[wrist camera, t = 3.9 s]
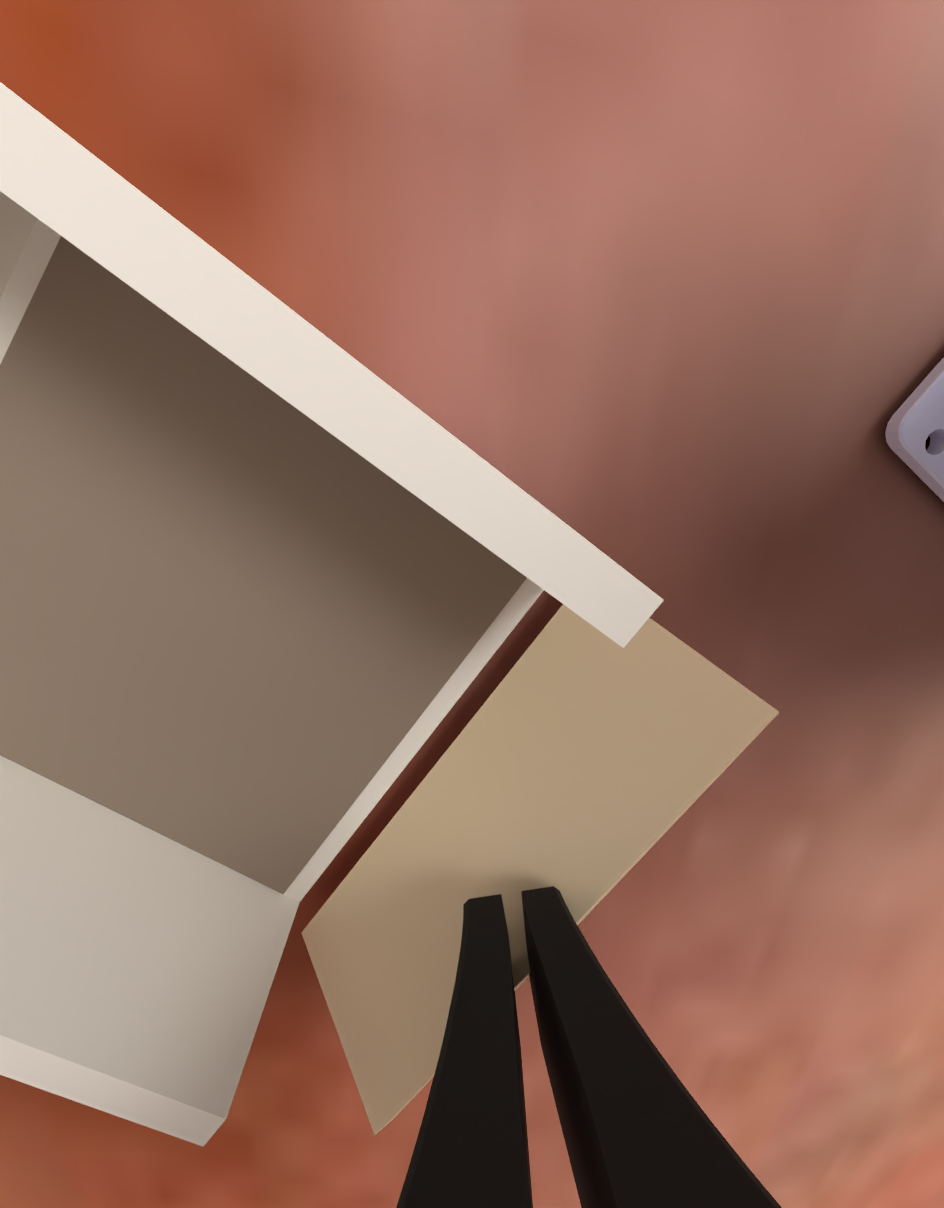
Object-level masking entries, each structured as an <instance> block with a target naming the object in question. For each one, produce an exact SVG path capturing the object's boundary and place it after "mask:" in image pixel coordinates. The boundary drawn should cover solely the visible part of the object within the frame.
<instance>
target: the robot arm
mask: <svg viewBox="0 0 944 1208" xmlns="http://www.w3.org/2000/svg"><path fill="white" fill-rule="evenodd" d="M885 434H886V442H887V444H888V445H889V447H890V448H891V449H892V450H893V451H894V452H895V453H896V454H897V455H898V456H899V457H900V459H901V460H902V461H903V462H904V463H905V464H906V465H907V466H908V467H909V468H910V469H911V470H912V471H913V472H914V473H915V474H916V475H917V476H918V477H919V478H920V479H921V480H922V481H923V482H924V483H925V484H926V485H927V486H928V487H929V488H930V489H931V490H932V491H933V492H934V493H935V494H936V495H937V496H938V497H939V498H940V499H941V500H942V501H943V502H944V357H943V358H942V359H941V361H940V362H939V363H938V364H937V365H936V366H935V367H934V369H933V370H932V371H931V372H930V373H929V374H928V375H927V377H926V378H925V379H924V380H923V381H922V382H921V383H920V385H919V386H918V387H917V388H916V389H915V390H914V391H913V393H912V394H911V395H910V396H909V397H908V398H907V399H906V401H905V402H904V403H903V404H902V405H901V406H900V407H899V409H898V410H897V411H896V412H895V413H894V414H893V416H892V417H891V419H890V420H889V422H888V424H887V428H886V432H885ZM928 436H929V437H930V445H929V447H928V449H927V450H926V448H925V443H926V439H927V438H928ZM521 895H522V905H523V916H524V926H525V937H526V947H527V954H528V960H529V967H530V974H529V977H530V983H531V989H532V994H533V1000H534V1006H535V1012H536V1018H537V1023H538V1029H539V1035H540V1041H541V1046H542V1050H543V1054H544V1058H545V1062H546V1066H547V1071H548V1075H549V1079H550V1083H551V1087H552V1091H553V1095H554V1099H555V1103H556V1107H557V1111H558V1115H559V1119H560V1123H561V1127H562V1131H563V1135H564V1139H565V1143H566V1147H567V1151H568V1155H569V1159H570V1163H571V1167H572V1171H573V1175H574V1179H575V1183H576V1187H577V1191H578V1195H579V1199H580V1203H581V1207H582V1208H781V1206H780V1205H779V1204H778V1203H777V1202H776V1200H775V1199H774V1198H773V1197H772V1196H771V1194H770V1193H769V1192H768V1191H767V1190H766V1188H765V1187H764V1186H763V1185H762V1184H761V1183H760V1181H759V1180H758V1179H757V1178H756V1177H755V1175H754V1174H753V1173H752V1172H751V1171H750V1169H749V1168H748V1167H747V1166H746V1164H745V1163H744V1162H743V1161H742V1159H741V1158H740V1157H739V1156H738V1154H737V1153H736V1152H735V1151H734V1149H733V1148H732V1147H731V1146H730V1144H729V1143H728V1142H727V1141H726V1139H725V1138H724V1137H723V1136H722V1134H721V1133H720V1132H719V1131H718V1129H717V1128H716V1127H715V1126H714V1124H713V1123H712V1122H711V1121H710V1119H709V1118H708V1117H707V1115H706V1114H705V1113H704V1111H703V1110H702V1109H701V1108H700V1106H699V1105H698V1104H697V1102H696V1101H695V1100H694V1098H693V1097H692V1096H691V1094H690V1093H689V1092H688V1090H687V1089H686V1088H685V1086H684V1085H683V1084H682V1083H681V1081H680V1080H679V1078H678V1077H677V1076H676V1074H675V1073H674V1072H673V1070H672V1069H671V1067H670V1066H669V1065H668V1063H667V1062H666V1061H665V1059H664V1058H663V1056H662V1055H661V1054H660V1052H659V1051H658V1050H657V1048H656V1047H655V1045H654V1044H653V1043H652V1041H651V1040H650V1038H649V1037H648V1036H647V1034H646V1033H645V1031H644V1030H643V1028H642V1027H641V1025H640V1024H639V1023H638V1021H637V1020H636V1018H635V1017H634V1015H633V1014H632V1012H631V1011H630V1009H629V1008H628V1006H627V1005H626V1003H625V1002H624V1000H623V999H622V997H621V996H620V994H619V993H618V991H617V990H616V988H615V987H614V985H613V984H612V982H611V981H610V979H609V977H608V976H607V974H606V973H605V971H604V970H603V968H602V966H601V965H600V963H599V962H598V960H597V958H596V957H595V955H594V953H593V952H592V950H591V948H590V947H589V945H588V943H587V942H586V940H585V938H584V936H583V935H582V933H581V931H580V929H579V928H578V926H577V924H576V922H575V920H574V919H573V917H572V915H571V913H570V911H569V909H568V907H567V905H566V903H565V901H564V899H563V897H562V895H561V892H560V890H558V889H557V888H555V887H554V886H552V887H545V888H538V889H531V890H525V891H521ZM397 1208H533V1204H532V1191H531V1177H530V1164H529V1151H528V1138H527V1125H526V1112H525V1098H524V1085H523V1072H522V1059H521V1047H520V1038H519V1028H518V1019H517V1010H516V1000H515V991H514V982H513V972H512V963H511V954H510V944H509V935H508V929H507V923H506V917H505V911H504V906H503V900H502V895H501V894H498V895H491V896H484V897H477V898H471V899H468V900H467V901H466V902H465V904H464V905H463V928H462V939H461V947H460V954H459V961H458V967H457V973H456V979H455V985H454V990H453V995H452V999H451V1004H450V1009H449V1014H448V1019H447V1024H446V1029H445V1033H444V1038H443V1042H442V1046H441V1051H440V1055H439V1059H438V1062H437V1066H436V1070H435V1074H434V1078H433V1082H432V1086H431V1090H430V1094H429V1097H428V1101H427V1105H426V1109H425V1113H424V1117H423V1120H422V1124H421V1128H420V1131H419V1135H418V1138H417V1142H416V1145H415V1149H414V1152H413V1155H412V1159H411V1162H410V1165H409V1169H408V1172H407V1176H406V1179H405V1182H404V1185H403V1188H402V1192H401V1195H400V1198H399V1201H398V1204H397Z"/></svg>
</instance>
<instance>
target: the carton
mask: <svg viewBox="0 0 944 1208" xmlns="http://www.w3.org/2000/svg"><path fill="white" fill-rule="evenodd" d="M544 590H545V591H546V592H547V593H549V594H550V595H552V596H553V597H554V598H556V599H557V600H558V601H560V602H561V603H562V604H564V605H565V606H567V607H568V608H569V609H571V610H572V611H573V612H575V613H576V614H577V615H579V616H580V617H582V618H583V619H584V620H586V621H587V622H588V623H590V624H591V625H592V626H594V627H595V628H596V629H598V630H599V631H601V632H602V633H603V634H605V635H606V636H607V637H609V638H610V639H611V640H613V641H614V642H616V643H617V644H618V645H620V646H621V647H622V648H624V647H625V646H626V645H627V643H628V642H629V641H630V640H631V639H632V637H633V636H634V635H635V634H636V633H637V632H638V630H639V629H640V628H641V627H642V626H643V624H644V623H645V622H646V621H647V620H648V618H649V617H650V616H651V615H652V614H653V613H654V611H655V610H656V609H657V608H658V607H659V605H660V604H661V603H662V602H663V601H664V600H663V599H662V598H661V597H659V596H658V595H657V594H656V593H654V592H653V591H652V590H650V589H649V588H648V587H647V586H645V585H644V584H643V583H641V582H640V581H639V580H638V579H636V578H635V577H634V576H633V575H631V574H630V573H629V572H627V571H626V570H625V569H624V568H622V567H621V566H620V565H618V564H617V563H616V562H615V561H613V560H612V559H611V558H609V557H608V556H607V555H606V554H604V553H603V552H602V551H600V550H599V549H598V548H597V547H595V546H594V545H593V544H592V543H590V542H589V541H588V540H586V539H585V538H584V537H583V536H581V535H580V534H579V533H577V532H576V531H575V530H574V529H572V528H571V527H570V526H568V525H567V524H566V523H565V522H563V521H562V520H561V519H559V518H558V517H557V516H556V515H554V514H553V513H552V512H551V511H549V510H548V509H547V508H545V507H544V506H543V505H542V504H540V503H539V502H538V501H536V500H535V499H534V498H533V497H531V496H530V495H529V494H527V493H526V492H525V491H524V490H522V489H521V488H520V487H518V486H517V485H516V484H515V483H513V482H512V481H511V480H510V479H508V478H507V477H506V476H504V475H503V474H502V473H501V472H499V471H498V470H497V469H495V468H494V467H493V466H492V465H490V464H489V463H488V462H486V461H485V460H484V459H483V458H481V457H480V456H479V455H477V454H476V453H475V452H474V451H472V450H471V449H470V448H468V447H467V446H466V445H465V444H463V443H462V442H461V441H460V440H458V439H457V438H456V437H454V436H453V435H452V434H451V433H449V432H448V431H447V430H445V429H444V428H443V427H442V426H440V425H439V424H438V423H436V422H435V421H434V420H433V419H431V418H430V417H429V416H427V415H426V414H425V413H424V412H422V411H421V410H420V409H419V408H417V407H416V406H415V405H413V404H412V403H411V402H410V401H408V400H407V399H406V398H404V397H403V396H402V395H401V394H399V393H398V392H397V391H395V390H394V389H393V388H392V387H390V386H389V385H388V384H386V383H385V382H384V381H383V380H381V379H380V378H379V377H378V376H376V375H375V374H374V373H372V372H371V371H370V370H369V369H367V368H366V367H365V366H363V365H362V364H361V363H360V362H358V361H357V360H356V359H354V358H353V357H352V356H351V355H349V354H348V353H347V352H345V351H344V350H343V349H342V348H340V347H339V346H338V345H337V344H335V343H334V342H333V341H331V340H330V339H329V338H328V337H326V336H325V335H324V334H322V333H321V332H320V331H319V330H317V329H316V328H315V327H313V326H312V325H311V324H310V323H308V322H307V321H306V320H304V319H303V318H302V317H301V316H299V315H298V314H297V313H296V312H294V311H293V310H292V309H290V308H289V307H288V306H287V305H285V304H284V303H283V302H281V301H280V300H279V299H278V298H276V297H275V296H274V295H272V294H271V293H270V292H269V291H267V290H266V289H265V288H263V287H262V286H261V285H260V284H258V283H257V282H256V281H254V280H253V279H252V278H251V277H249V276H248V275H247V274H246V273H244V272H243V271H242V270H240V269H239V268H238V267H237V266H235V265H234V264H233V263H231V262H230V261H229V260H228V259H226V258H225V257H224V256H222V255H221V254H220V253H219V252H217V251H216V250H215V249H213V248H212V247H211V246H210V245H208V244H207V243H206V242H205V241H203V240H202V239H201V238H199V237H198V236H197V235H196V234H194V233H193V232H192V231H190V230H189V229H188V228H187V227H185V226H184V225H183V224H181V223H180V222H179V221H178V220H176V219H175V218H174V217H172V216H171V215H170V214H169V213H167V212H166V211H165V210H164V209H162V208H161V207H160V206H158V205H157V204H156V203H155V202H153V201H152V200H151V199H149V198H148V197H147V196H146V195H144V194H143V193H142V192H140V191H139V190H138V189H137V188H135V187H134V186H133V185H131V184H130V183H129V182H128V181H126V180H125V179H124V178H123V177H121V176H120V175H119V174H117V173H116V172H115V171H114V170H112V169H111V168H110V167H108V166H107V165H106V164H105V163H103V162H102V161H101V160H99V159H98V158H97V157H96V156H94V155H93V154H92V153H90V152H89V151H88V150H87V149H85V148H84V147H83V146H81V145H80V144H79V143H78V142H76V141H75V140H74V139H73V138H71V137H70V136H69V135H67V134H66V133H65V132H64V131H62V130H61V129H60V128H58V127H57V126H56V125H55V124H53V123H52V122H51V121H49V120H48V119H47V118H46V117H44V116H43V115H42V114H40V113H39V112H38V111H37V110H35V109H34V108H33V107H32V106H30V105H29V104H28V103H26V102H25V101H24V100H23V99H21V98H20V97H19V96H17V95H16V94H15V93H14V92H12V91H11V90H10V89H8V88H7V87H6V86H5V85H3V84H2V83H1V82H0V1075H2V1076H5V1077H8V1078H11V1079H14V1080H17V1081H19V1082H22V1083H25V1084H28V1085H31V1086H34V1087H36V1088H39V1089H42V1090H45V1091H48V1092H50V1093H53V1094H56V1095H59V1096H62V1097H65V1098H67V1099H70V1100H73V1101H76V1102H79V1103H81V1104H84V1105H87V1106H90V1107H93V1108H96V1109H98V1110H101V1111H104V1112H107V1113H110V1114H112V1115H115V1116H118V1117H121V1118H124V1119H127V1120H129V1121H132V1122H135V1123H138V1124H141V1125H143V1126H146V1127H149V1128H152V1129H155V1130H158V1131H160V1132H163V1133H166V1134H169V1135H172V1136H175V1137H177V1138H180V1139H183V1140H186V1141H189V1142H191V1143H194V1144H197V1145H200V1146H204V1145H205V1144H206V1143H207V1141H208V1140H209V1139H210V1138H211V1137H212V1135H213V1134H214V1133H215V1132H216V1131H217V1130H218V1128H219V1127H220V1126H221V1125H222V1124H223V1122H224V1121H225V1120H226V1118H227V1115H228V1112H229V1109H230V1106H231V1104H232V1101H233V1098H234V1095H235V1092H236V1089H237V1086H238V1083H239V1080H240V1077H241V1074H242V1071H243V1068H244V1065H245V1062H246V1059H247V1056H248V1053H249V1050H250V1047H251V1044H252V1042H253V1039H254V1036H255V1033H256V1030H257V1027H258V1024H259V1021H260V1018H261V1015H262V1012H263V1009H264V1006H265V1003H266V1000H267V997H268V994H269V991H270V988H271V985H272V982H273V980H274V977H275V974H276V971H277V968H278V965H279V962H280V959H281V956H282V953H283V950H284V947H285V944H286V941H287V938H288V935H289V932H290V929H291V926H292V923H293V921H294V918H295V915H296V912H297V909H298V906H299V903H300V901H301V900H302V899H303V897H304V896H305V895H306V894H307V892H308V891H309V890H310V888H311V887H312V886H313V885H314V883H315V882H316V881H317V880H318V878H319V877H320V876H321V874H322V873H323V872H324V871H325V869H326V868H327V867H328V865H329V864H330V863H331V862H332V860H333V859H334V858H335V856H336V855H337V854H338V853H339V851H340V850H341V849H342V848H343V846H344V845H345V844H346V842H347V841H348V840H349V839H350V837H351V836H352V835H353V833H354V832H355V831H356V830H357V828H358V827H359V826H360V825H361V823H362V822H363V821H364V819H365V818H366V817H367V816H368V814H369V813H370V812H371V810H372V809H373V808H374V807H375V805H376V804H377V803H378V802H379V800H380V799H381V798H382V796H383V795H384V794H385V793H386V791H387V790H388V789H389V787H390V786H391V785H392V784H393V782H394V781H395V780H396V779H397V777H398V776H399V775H400V773H401V772H402V771H403V770H404V768H405V767H406V766H407V764H408V763H409V762H410V761H411V759H412V758H413V757H414V756H415V754H416V753H417V752H418V750H419V749H420V748H421V747H422V745H423V744H424V743H425V741H426V740H427V739H428V738H429V736H430V735H431V734H432V733H433V731H434V730H435V729H436V727H437V726H438V725H439V724H440V722H441V721H442V720H443V718H444V717H445V716H446V715H447V713H448V712H449V711H450V710H451V708H452V707H453V706H454V704H455V703H456V702H457V701H458V699H459V698H460V697H461V695H462V694H463V693H464V692H465V690H466V689H467V688H468V687H469V685H470V684H471V683H472V681H473V680H474V679H475V678H476V676H477V675H478V674H479V672H480V671H481V670H482V669H483V667H484V666H485V665H486V663H487V662H488V661H489V660H490V658H491V657H492V656H493V655H494V653H495V652H496V651H497V649H498V648H499V647H500V646H501V644H502V643H503V642H504V640H505V639H506V638H507V637H508V635H509V634H510V633H511V632H512V630H513V629H514V628H515V626H516V625H517V624H518V623H519V621H520V620H521V619H522V617H523V616H524V615H525V614H526V612H527V611H528V610H529V609H530V607H531V606H532V605H533V603H534V602H535V601H536V600H537V598H538V597H539V596H540V594H541V593H542V592H543V591H544Z"/></svg>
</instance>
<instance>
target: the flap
mask: <svg viewBox="0 0 944 1208" xmlns="http://www.w3.org/2000/svg"><path fill="white" fill-rule="evenodd" d="M778 714H779V712H778V711H777V710H776V709H775V708H773V707H772V706H771V705H769V704H768V703H766V702H765V701H764V700H762V699H761V698H760V697H758V696H757V695H755V694H754V693H753V692H751V691H750V690H749V689H747V688H746V687H744V686H743V685H742V684H740V683H739V682H738V681H736V680H735V679H733V678H732V677H731V676H729V675H728V674H726V673H725V672H724V671H722V670H721V669H720V668H718V667H717V666H715V665H714V664H713V663H711V662H710V661H709V660H707V659H706V658H704V657H703V656H702V655H700V654H699V653H698V652H696V651H695V650H693V649H692V648H691V647H689V646H688V645H687V644H685V643H684V642H682V641H681V640H680V639H678V638H677V637H676V636H674V635H673V634H671V633H670V632H669V631H667V630H666V629H665V628H663V627H662V626H660V625H659V624H658V623H656V622H655V621H654V620H652V619H651V618H648V620H647V621H646V622H645V623H644V624H643V626H642V627H641V628H640V629H639V630H638V632H637V633H636V634H635V635H634V636H633V637H632V639H631V640H630V641H629V642H628V643H627V645H626V646H625V647H624V648H622V647H621V646H620V645H618V644H617V643H616V642H614V641H613V640H611V639H610V638H609V637H607V636H606V635H605V634H603V633H602V632H601V631H599V630H598V629H596V628H595V627H594V626H592V625H591V624H590V623H588V622H587V621H586V620H584V619H583V618H582V617H580V616H579V615H577V614H576V613H575V612H573V611H572V610H571V609H569V608H568V607H567V606H565V605H564V604H563V605H562V606H561V607H560V609H559V610H558V611H557V612H556V614H555V615H554V616H553V617H552V619H551V620H550V621H549V622H548V624H547V625H546V626H545V627H544V629H543V630H542V631H541V632H540V634H539V635H538V636H537V637H536V639H535V640H534V641H533V642H532V644H531V645H530V646H529V648H528V649H527V650H526V651H525V653H524V654H523V655H522V656H521V658H520V659H519V660H518V661H517V663H516V664H515V665H514V666H513V668H512V669H511V670H510V671H509V673H508V674H507V675H506V676H505V678H504V679H503V680H502V681H501V683H500V684H499V685H498V686H497V688H496V689H495V690H494V691H493V693H492V694H491V695H490V696H489V698H488V699H487V700H486V701H485V703H484V704H483V705H482V706H481V708H480V709H479V710H478V712H477V713H476V714H475V715H474V717H473V718H472V719H471V720H470V722H469V723H468V724H467V725H466V727H465V728H464V729H463V730H462V732H461V733H460V734H459V735H458V737H457V738H456V739H455V740H454V742H453V743H452V744H451V745H450V747H449V748H448V749H447V750H446V752H445V753H444V754H443V755H442V757H441V758H440V759H439V760H438V762H437V763H436V764H435V765H434V767H433V768H432V769H431V770H430V772H429V773H428V774H427V776H426V777H425V778H424V779H423V781H422V782H421V783H420V784H419V786H418V787H417V788H416V789H415V791H414V792H413V793H412V794H411V796H410V797H409V798H408V799H407V801H406V802H405V803H404V804H403V806H402V807H401V808H400V809H399V811H398V812H397V813H396V814H395V816H394V817H393V818H392V819H391V821H390V822H389V823H388V824H387V826H386V827H385V828H384V829H383V831H382V832H381V833H380V835H379V836H378V837H377V838H376V840H375V841H374V842H373V843H372V845H371V846H370V847H369V848H368V850H367V851H366V852H365V853H364V855H363V856H362V857H361V858H360V860H359V861H358V862H357V863H356V865H355V866H354V867H353V868H352V870H351V871H350V872H349V873H348V875H347V876H346V877H345V878H344V880H343V881H342V882H341V883H340V885H339V886H338V887H337V888H336V890H335V891H334V892H333V893H332V895H331V896H330V897H329V899H328V900H327V901H326V902H325V904H324V905H323V906H322V907H321V909H320V910H319V911H318V912H317V914H316V915H315V916H314V917H313V919H312V920H311V921H310V922H309V924H308V925H307V926H306V927H305V929H304V930H303V931H302V932H301V933H302V936H303V939H304V942H305V944H306V947H307V950H308V953H309V956H310V958H311V961H312V964H313V967H314V969H315V972H316V975H317V978H318V980H319V983H320V986H321V989H322V991H323V994H324V997H325V1000H326V1003H327V1005H328V1008H329V1011H330V1014H331V1016H332V1019H333V1022H334V1025H335V1027H336V1030H337V1033H338V1036H339V1039H340V1041H341V1044H342V1047H343V1050H344V1052H345V1055H346V1058H347V1061H348V1063H349V1066H350V1069H351V1072H352V1075H353V1077H354V1080H355V1083H356V1086H357V1088H358V1091H359V1094H360V1097H361V1099H362V1102H363V1105H364V1108H365V1111H366V1113H367V1116H368V1119H369V1122H370V1124H371V1127H372V1130H373V1133H374V1135H376V1134H377V1133H378V1132H379V1131H380V1130H382V1129H383V1128H384V1127H385V1126H386V1125H387V1124H388V1123H389V1122H391V1121H392V1120H393V1119H394V1118H395V1117H396V1116H397V1115H398V1114H399V1113H400V1112H401V1111H402V1110H403V1109H404V1108H405V1107H406V1105H407V1104H408V1103H409V1102H410V1101H411V1100H412V1099H413V1098H414V1097H415V1096H416V1095H417V1094H418V1093H419V1092H420V1091H421V1090H422V1089H423V1088H424V1087H425V1085H426V1084H427V1083H428V1082H429V1081H430V1080H431V1079H432V1078H433V1077H434V1074H435V1070H436V1066H437V1062H438V1059H439V1055H440V1051H441V1046H442V1042H443V1038H444V1033H445V1029H446V1024H447V1019H448V1014H449V1009H450V1004H451V999H452V995H453V990H454V985H455V979H456V973H457V967H458V961H459V954H460V947H461V939H462V928H463V905H464V904H465V902H466V901H467V900H468V899H471V898H477V897H484V896H491V895H498V894H501V895H502V900H503V906H504V911H505V917H506V923H507V929H508V935H509V944H510V954H511V963H512V972H513V982H514V991H516V990H517V989H518V988H519V986H520V985H521V984H522V983H523V982H524V981H525V980H526V979H527V978H528V977H529V974H530V967H529V960H528V954H527V947H526V937H525V926H524V916H523V905H522V895H521V891H525V890H531V889H538V888H545V887H552V886H554V887H555V888H557V889H558V890H560V892H561V895H562V897H563V899H564V901H565V903H566V905H567V907H568V909H569V911H570V913H571V915H572V917H573V919H574V920H575V922H576V924H577V925H578V924H579V923H580V922H581V921H582V920H583V919H584V918H585V917H586V916H587V915H588V914H589V913H590V912H591V911H592V910H593V909H594V907H595V906H596V905H597V904H598V903H599V902H600V901H601V900H602V899H603V898H604V897H605V896H606V895H607V894H608V893H609V892H610V891H611V890H612V889H613V887H614V886H615V885H616V884H617V883H618V882H619V881H620V880H621V879H622V878H623V877H624V876H625V875H626V874H627V873H628V872H629V871H630V870H631V869H632V867H633V866H634V865H635V864H636V863H637V862H638V861H639V860H640V859H641V858H642V857H643V856H644V855H645V854H646V853H647V852H648V851H649V850H650V848H651V847H652V846H653V845H654V844H655V843H656V842H657V841H658V840H659V839H660V838H661V837H662V836H663V835H664V834H665V833H666V832H667V831H668V830H669V828H670V827H671V826H672V825H673V824H674V823H675V822H676V821H677V820H678V819H679V818H680V817H681V816H682V815H683V814H684V813H685V812H686V811H687V810H688V808H689V807H690V806H691V805H692V804H693V803H694V802H695V801H696V800H697V799H698V798H699V797H700V796H701V795H702V794H703V793H704V792H705V791H706V790H707V788H708V787H709V786H710V785H711V784H712V783H713V782H714V781H715V780H716V779H717V778H718V777H719V776H720V775H721V774H722V773H723V772H724V771H725V770H726V768H727V767H728V766H729V765H730V764H731V763H732V762H733V761H734V760H735V759H736V758H737V757H738V756H739V755H740V754H741V753H742V752H743V751H744V749H745V748H746V747H747V746H748V745H749V744H750V743H751V742H752V741H753V740H754V739H755V738H756V737H757V736H758V735H759V734H760V733H761V732H762V731H763V729H764V728H765V727H766V726H767V725H768V724H769V723H770V722H771V721H772V720H773V719H774V718H775V717H776V716H777V715H778Z"/></svg>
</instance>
